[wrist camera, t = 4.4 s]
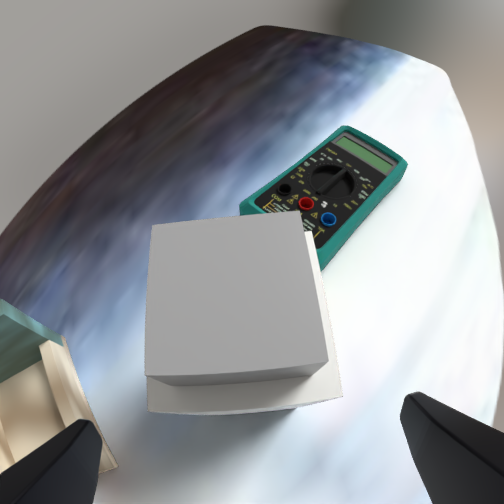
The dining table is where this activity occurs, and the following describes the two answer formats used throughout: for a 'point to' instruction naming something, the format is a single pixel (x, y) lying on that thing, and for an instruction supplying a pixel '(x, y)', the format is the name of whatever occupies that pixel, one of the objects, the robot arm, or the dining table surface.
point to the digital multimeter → (332, 188)
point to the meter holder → (37, 388)
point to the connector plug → (237, 317)
